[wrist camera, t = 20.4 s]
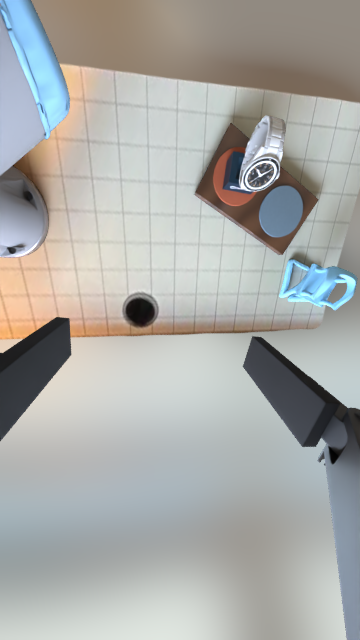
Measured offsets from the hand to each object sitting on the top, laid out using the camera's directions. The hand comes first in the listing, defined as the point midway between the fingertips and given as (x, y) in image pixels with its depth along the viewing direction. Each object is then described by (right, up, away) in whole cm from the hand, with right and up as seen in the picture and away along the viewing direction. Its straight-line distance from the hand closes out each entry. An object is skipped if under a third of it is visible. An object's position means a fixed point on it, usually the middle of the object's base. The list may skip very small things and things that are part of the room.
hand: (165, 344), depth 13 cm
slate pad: (+21, +23, +23) cm, 39 cm away
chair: (+27, +11, +29) cm, 42 cm away
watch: (+12, +28, +20) cm, 36 cm away
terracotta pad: (+12, +28, +20) cm, 36 cm away
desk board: (+16, +26, +23) cm, 38 cm away
